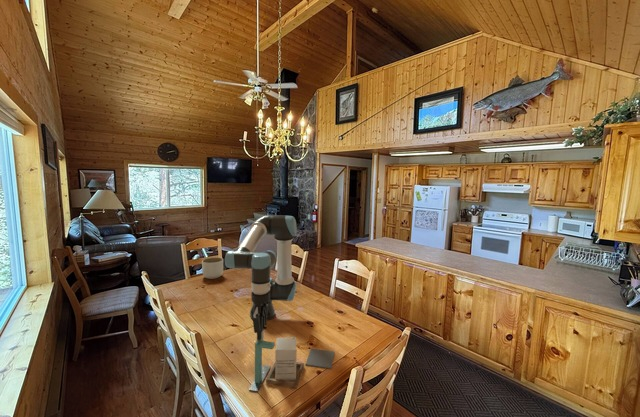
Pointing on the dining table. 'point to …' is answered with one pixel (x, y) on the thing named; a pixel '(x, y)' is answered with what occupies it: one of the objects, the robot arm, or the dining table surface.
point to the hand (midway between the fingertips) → (260, 344)
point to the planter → (212, 267)
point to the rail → (256, 386)
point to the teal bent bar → (260, 357)
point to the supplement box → (285, 359)
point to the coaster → (320, 358)
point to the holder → (282, 382)
